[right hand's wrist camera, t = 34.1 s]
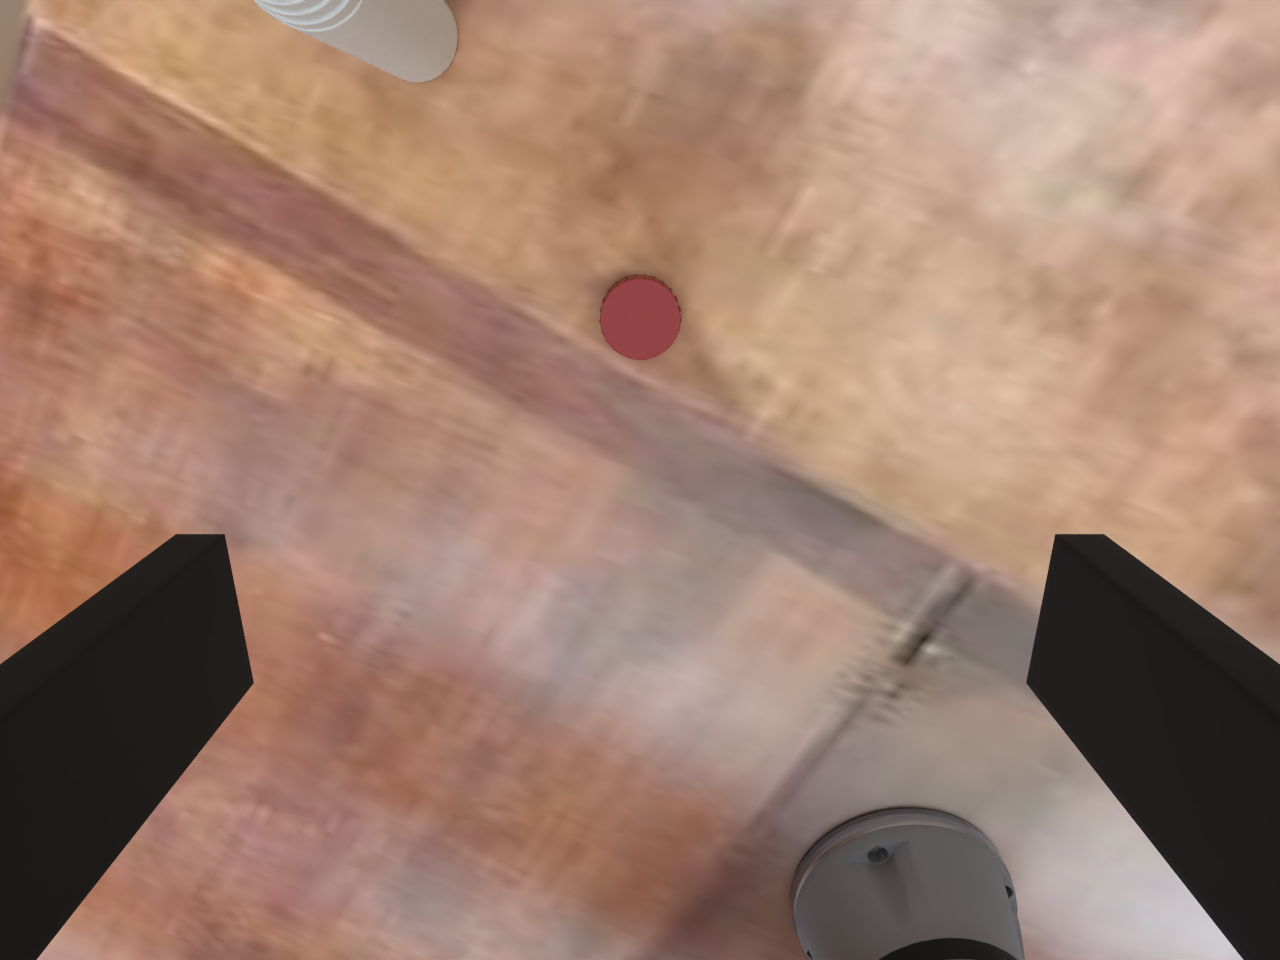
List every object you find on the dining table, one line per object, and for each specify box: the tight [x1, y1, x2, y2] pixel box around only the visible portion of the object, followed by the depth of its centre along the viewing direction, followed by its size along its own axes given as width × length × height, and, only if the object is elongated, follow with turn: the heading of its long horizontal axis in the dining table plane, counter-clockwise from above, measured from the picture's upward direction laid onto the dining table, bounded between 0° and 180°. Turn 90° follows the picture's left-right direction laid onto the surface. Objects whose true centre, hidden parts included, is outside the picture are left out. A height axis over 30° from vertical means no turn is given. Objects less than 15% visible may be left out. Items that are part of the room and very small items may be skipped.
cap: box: [600, 274, 681, 360], centre depth 42 cm, size 4×4×2 cm
